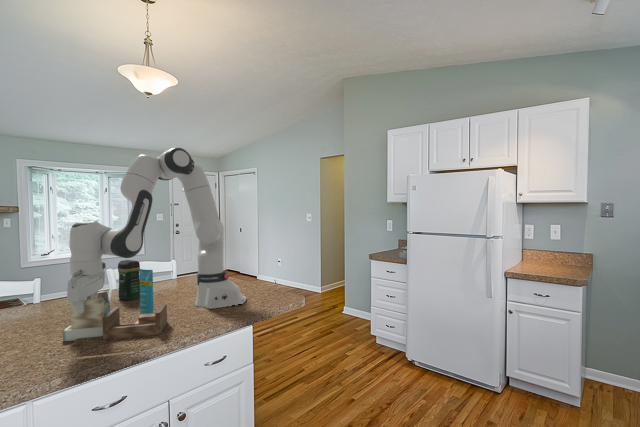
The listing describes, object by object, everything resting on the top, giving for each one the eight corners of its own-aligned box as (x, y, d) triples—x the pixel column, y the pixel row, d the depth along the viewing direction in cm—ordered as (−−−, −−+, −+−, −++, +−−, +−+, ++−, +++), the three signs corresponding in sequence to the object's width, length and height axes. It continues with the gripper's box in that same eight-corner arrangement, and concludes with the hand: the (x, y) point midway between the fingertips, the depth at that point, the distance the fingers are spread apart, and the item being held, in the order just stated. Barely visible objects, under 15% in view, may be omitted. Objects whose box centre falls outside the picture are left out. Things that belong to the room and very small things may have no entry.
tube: (135, 317, 132) (133, 269, 132) (144, 313, 137) (143, 267, 136) (149, 319, 130) (148, 270, 129) (159, 315, 135) (158, 268, 134)
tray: (111, 330, 118) (111, 321, 118) (105, 337, 112) (104, 327, 112) (71, 334, 115) (71, 324, 115) (63, 341, 109) (62, 330, 109)
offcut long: (158, 324, 122) (158, 318, 122) (156, 328, 119) (155, 322, 119) (137, 326, 121) (137, 320, 121) (134, 330, 117) (134, 324, 117)
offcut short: (157, 318, 122) (157, 312, 122) (155, 322, 119) (155, 315, 119) (140, 320, 121) (140, 314, 121) (138, 323, 117) (138, 317, 117)
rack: (167, 324, 124) (166, 303, 124) (160, 335, 113) (160, 312, 113) (115, 328, 120) (114, 307, 120) (103, 341, 109) (102, 317, 109)
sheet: (104, 331, 116) (103, 297, 116) (101, 334, 114) (100, 299, 113) (75, 334, 114) (74, 299, 114) (71, 336, 111) (70, 301, 111)
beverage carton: (86, 320, 130) (85, 303, 130) (86, 308, 146) (86, 293, 145) (110, 316, 134) (109, 300, 134) (108, 304, 150) (107, 290, 150)
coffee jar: (143, 297, 161) (142, 259, 160) (127, 301, 154) (126, 262, 153) (132, 295, 165) (131, 258, 165) (115, 299, 158) (114, 260, 158)
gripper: (83, 273, 104) (84, 317, 104) (107, 262, 124) (108, 299, 124) (59, 275, 102) (61, 319, 103) (88, 263, 122) (89, 300, 122)
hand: (87, 308), depth 113 cm, fingers open, 8 cm apart
